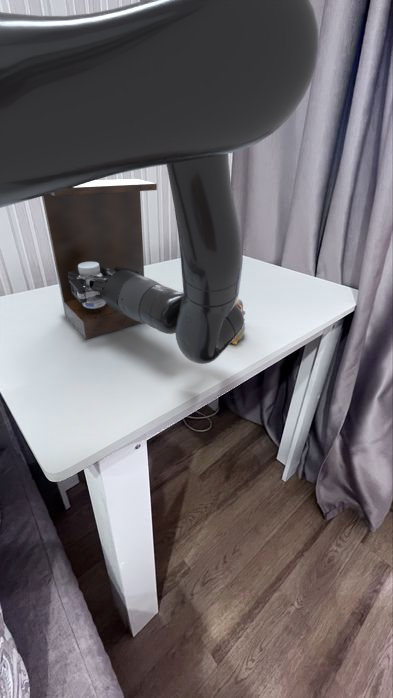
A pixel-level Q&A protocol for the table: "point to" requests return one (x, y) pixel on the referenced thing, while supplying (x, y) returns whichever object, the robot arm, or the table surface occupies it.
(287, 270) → the table surface
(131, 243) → the shelf
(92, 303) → the pill bottle
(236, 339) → the mug
